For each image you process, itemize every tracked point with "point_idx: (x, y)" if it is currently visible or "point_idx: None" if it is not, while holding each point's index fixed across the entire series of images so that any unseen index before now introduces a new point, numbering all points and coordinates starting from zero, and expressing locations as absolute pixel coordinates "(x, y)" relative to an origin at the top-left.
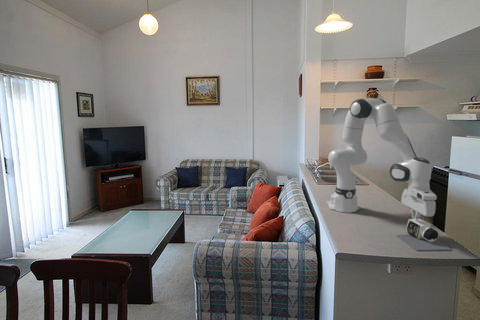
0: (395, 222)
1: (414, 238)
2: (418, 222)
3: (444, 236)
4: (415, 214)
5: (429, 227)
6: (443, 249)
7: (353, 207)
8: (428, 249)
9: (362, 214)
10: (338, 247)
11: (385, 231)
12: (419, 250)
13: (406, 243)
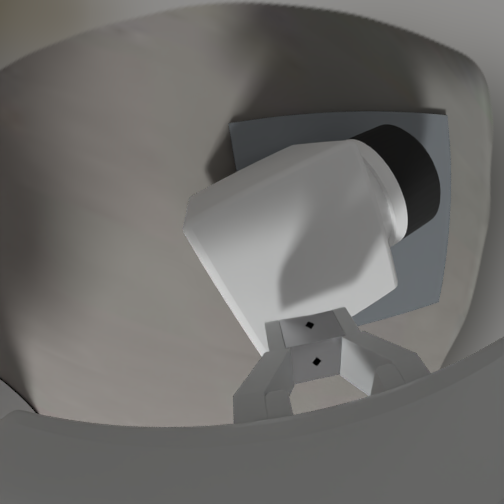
0: (36, 262)
1: None
2: (330, 287)
3: (235, 11)
4: (290, 361)
5: (391, 193)
6: (450, 163)
7: (7, 407)
8: (445, 245)
9: (17, 373)
10: None
11: (208, 370)
12: (439, 287)
13: (370, 319)
